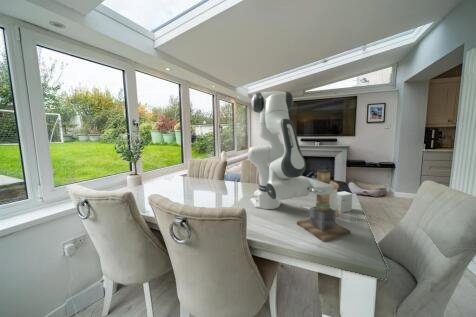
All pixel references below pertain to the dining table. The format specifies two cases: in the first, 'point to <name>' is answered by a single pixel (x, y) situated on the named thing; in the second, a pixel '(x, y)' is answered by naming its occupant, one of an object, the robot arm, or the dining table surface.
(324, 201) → the oak post
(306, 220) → the sleeve stand
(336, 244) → the dining table surface
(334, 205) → the pepper shaker
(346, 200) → the small box
